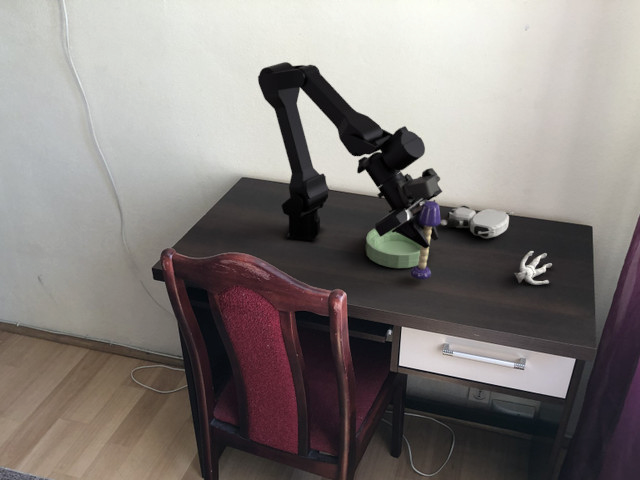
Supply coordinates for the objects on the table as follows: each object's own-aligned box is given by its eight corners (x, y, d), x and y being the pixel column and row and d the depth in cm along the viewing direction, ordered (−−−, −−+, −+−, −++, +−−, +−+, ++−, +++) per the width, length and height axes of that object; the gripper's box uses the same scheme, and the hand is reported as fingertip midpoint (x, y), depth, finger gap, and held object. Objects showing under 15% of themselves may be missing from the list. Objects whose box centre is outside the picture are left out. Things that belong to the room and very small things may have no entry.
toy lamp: (424, 266, 149) (432, 196, 140) (438, 276, 146) (447, 205, 137) (406, 272, 147) (413, 202, 138) (420, 283, 144) (429, 211, 134)
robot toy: (436, 234, 167) (495, 247, 160) (437, 217, 165) (497, 230, 158) (457, 215, 176) (514, 227, 169) (458, 198, 174) (516, 210, 166)
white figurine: (559, 277, 152) (545, 285, 142) (539, 286, 155) (524, 295, 145) (542, 245, 153) (527, 252, 143) (523, 255, 156) (506, 262, 146)
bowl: (360, 265, 153) (361, 250, 151) (371, 235, 165) (372, 221, 163) (424, 273, 151) (426, 258, 149) (431, 242, 162) (432, 228, 160)
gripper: (392, 176, 128) (439, 245, 129) (438, 145, 141) (480, 209, 142) (355, 203, 136) (399, 268, 137) (401, 172, 149) (442, 231, 150)
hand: (432, 243), depth 141 cm, fingers closed on toy lamp, 4 cm apart
